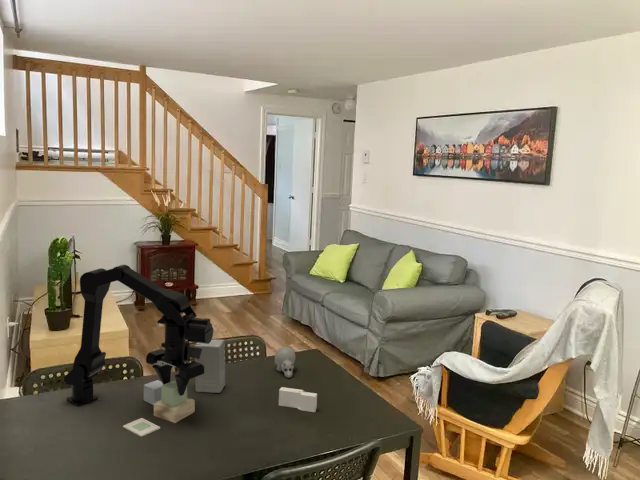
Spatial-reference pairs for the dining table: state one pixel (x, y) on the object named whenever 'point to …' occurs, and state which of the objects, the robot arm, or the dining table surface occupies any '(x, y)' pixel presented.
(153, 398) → the blue-grey cube
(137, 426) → the card
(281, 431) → the dining table surface
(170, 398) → the sage cube
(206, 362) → the skincare box
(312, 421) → the dining table surface
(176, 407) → the birch block
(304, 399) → the white stepped block
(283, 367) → the round bodied animal figurine
